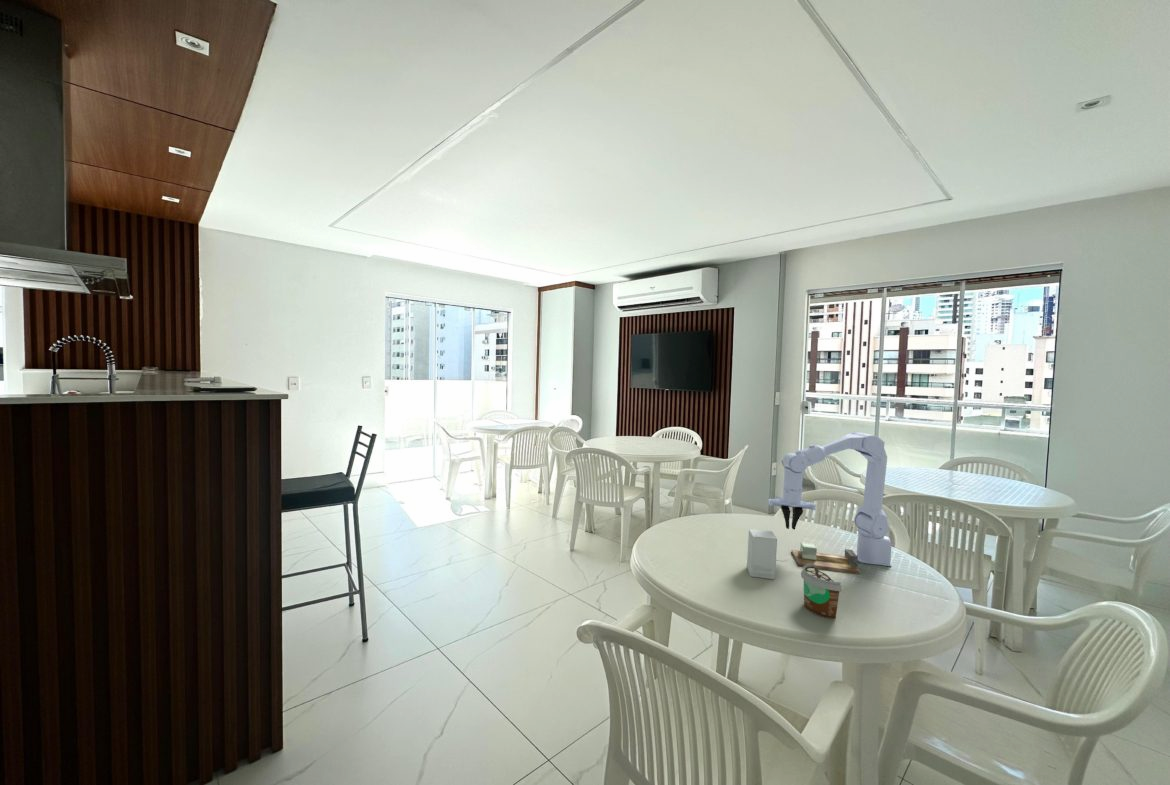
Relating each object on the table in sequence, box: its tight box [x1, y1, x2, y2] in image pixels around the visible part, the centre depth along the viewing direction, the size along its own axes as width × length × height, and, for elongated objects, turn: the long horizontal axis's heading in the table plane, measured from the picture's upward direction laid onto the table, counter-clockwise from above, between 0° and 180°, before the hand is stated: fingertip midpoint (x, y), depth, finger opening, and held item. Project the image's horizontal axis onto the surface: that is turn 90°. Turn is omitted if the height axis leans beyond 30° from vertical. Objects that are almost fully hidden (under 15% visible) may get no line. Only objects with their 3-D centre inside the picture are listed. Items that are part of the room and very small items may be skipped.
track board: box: [791, 548, 861, 575], centre depth 151 cm, size 18×12×4 cm, turn 75°
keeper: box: [799, 541, 818, 560], centre depth 152 cm, size 4×4×4 cm
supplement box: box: [746, 528, 778, 580], centre depth 140 cm, size 7×7×13 cm
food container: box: [800, 563, 842, 619], centre depth 119 cm, size 12×6×10 cm, turn 5°
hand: (790, 528), depth 153 cm, fingers closed
